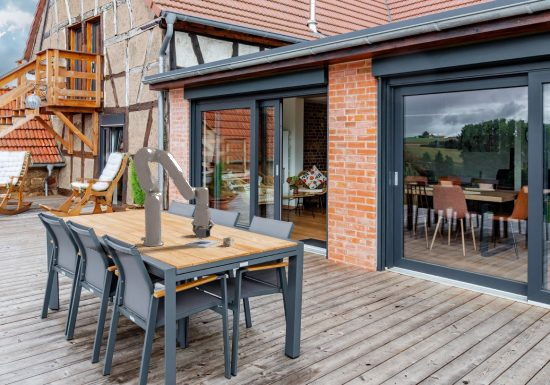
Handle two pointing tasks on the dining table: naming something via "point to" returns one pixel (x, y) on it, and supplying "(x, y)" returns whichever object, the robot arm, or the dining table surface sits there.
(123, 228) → the dining table surface
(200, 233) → the charcoal block
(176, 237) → the dining table surface
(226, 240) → the cream block
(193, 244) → the board
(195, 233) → the pine cone
